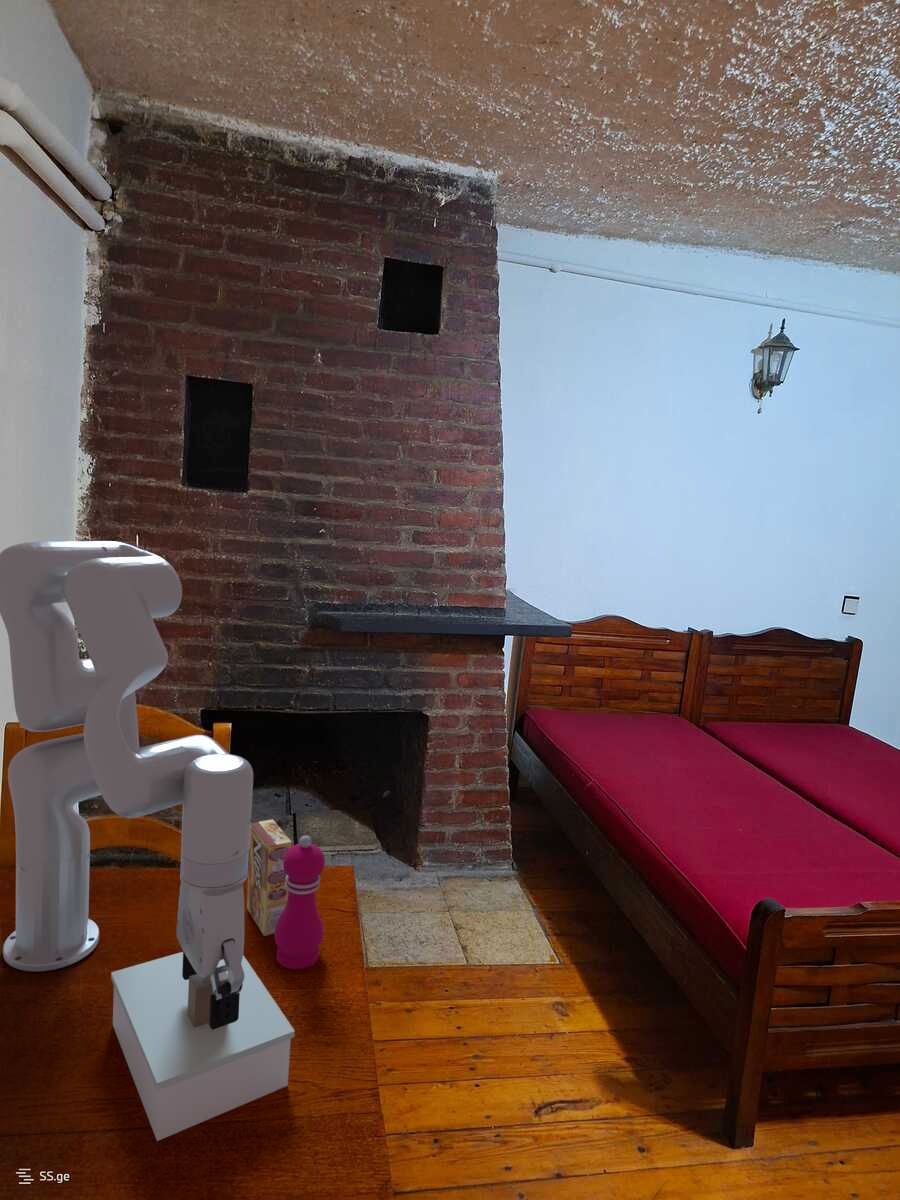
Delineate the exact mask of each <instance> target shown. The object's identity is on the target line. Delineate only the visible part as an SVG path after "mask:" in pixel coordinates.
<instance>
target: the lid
mask: <svg viewBox="0 0 900 1200" xmlns="http://www.w3.org/2000/svg"><path fill="white" fill-rule="evenodd" d="M224 965H226V964H225V961H224V959H223V960H220V961H219V963H218V966H217V967H220V966H224ZM241 965H242V968H243V971H244V975H245V977H244V980H243V983H242V984H243V986H242V989H241V992H240V997H239V1017H238V1020H237V1021H236V1022H233V1023H230V1024H228V1025H225V1026H222V1027H219V1028H216V1029H213V1030H212V1029H211V1028H210V1026H209V1016H210V995H213V994H214V992H213V987H212V981H211V976H207V977H206V978H202V977H200V976H199V975H198V974H196V975H192V976H189V979H188V980H184V979H183V977H182V968H183V951H182V952H177V953H174V954H171V955H167V956H164V957H160V958H156V959H152V960H149V961H145V962H143V963H139V964H135V965H132V966H129V967H125V968H122V969H117V970H115V971H111V972H110V979H111V981H112V985H113V988H114V987H115V989H116V992H117V994H118V996H119V999H120V1001H121V1004H122V1006H123V1009H124V1011H125V1013H126V1016H127V1018H128V1021H129V1023H130V1026H131V1028H132V1031H133V1033H134V1035H135V1038H136V1040H137V1043H138V1045H139V1048H140V1050H141V1052H142V1055H143V1057H144V1060H145V1062H146V1065H147V1067H148V1070H149V1072H150V1074H151V1077H152V1079H153V1082H154V1084H155V1087H156V1089H157V1090H158V1089H161V1088H163V1087H166V1086H169V1085H171V1084H174V1083H176V1082H179V1081H182V1080H184V1079H187V1078H189V1077H192V1076H195V1075H197V1074H200V1073H202V1072H205V1071H207V1070H210V1069H213V1068H215V1067H218V1066H220V1065H223V1064H226V1063H228V1062H231V1061H233V1060H236V1059H239V1058H241V1057H244V1056H246V1055H249V1054H252V1053H254V1052H257V1051H259V1050H262V1049H265V1048H267V1047H270V1046H272V1045H275V1044H278V1043H280V1042H283V1041H285V1040H288V1039H290V1038H291V1039H293V1038H295V1035H296V1033H295V1032H296V1031H295V1029H294V1027H293V1026H292V1025H291V1023H290V1022H289V1020H288V1018H287V1017H286V1016H285V1014H284V1013H283V1012H282V1010H281V1008H280V1006H279V1005H278V1004H277V1002H276V1001H275V999H274V998H273V997H272V995H271V994H270V992H269V990H268V989H267V987H265V985H264V982H262V980H261V979H260V977H259V976H258V975H257V973H256V971H255V970H254V969H253V967H252V966H251V964H250V963H249V961H248V959H246V957H245V956H244V954H243V959H242V963H241ZM218 975H219V980H220V986H221V985H223V984H224V983H225V982H228V971H225V972H222V973H219V974H218Z"/></svg>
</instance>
